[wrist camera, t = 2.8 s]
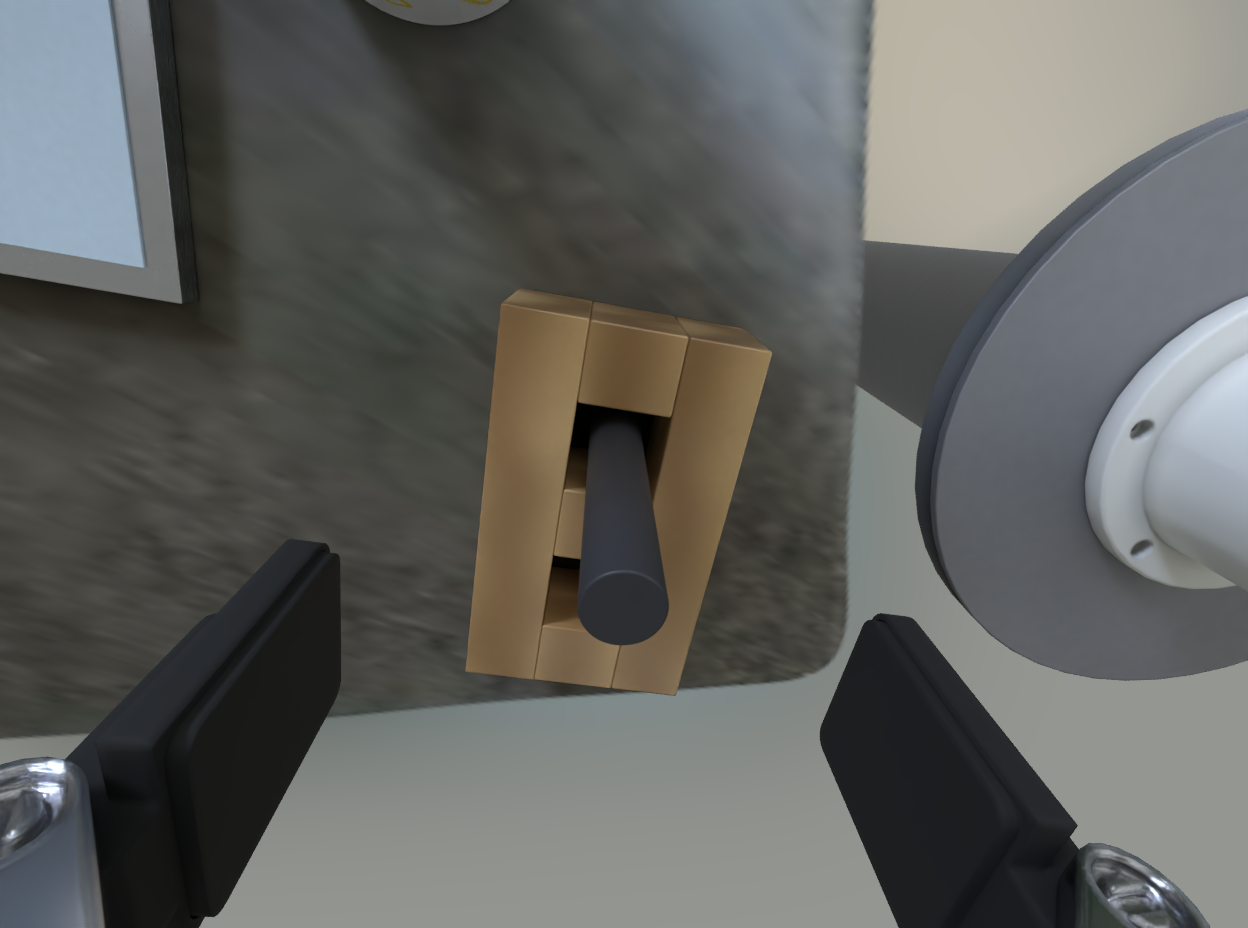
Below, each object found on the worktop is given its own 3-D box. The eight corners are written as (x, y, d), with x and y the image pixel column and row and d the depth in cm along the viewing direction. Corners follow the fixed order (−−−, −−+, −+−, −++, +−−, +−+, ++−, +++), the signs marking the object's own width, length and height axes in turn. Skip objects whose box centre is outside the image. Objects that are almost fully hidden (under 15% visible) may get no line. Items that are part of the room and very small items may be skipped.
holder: (744, 328, 21) (773, 351, 17) (666, 629, 26) (676, 696, 23) (519, 287, 20) (500, 302, 17) (485, 606, 26) (465, 672, 22)
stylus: (641, 397, 22) (678, 577, 11) (633, 441, 23) (659, 652, 12) (595, 389, 22) (584, 564, 11) (587, 433, 23) (570, 641, 12)
